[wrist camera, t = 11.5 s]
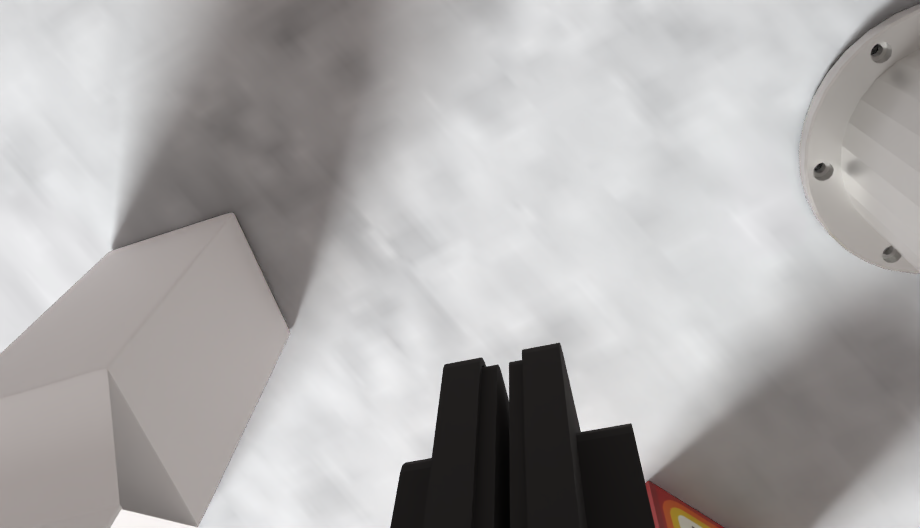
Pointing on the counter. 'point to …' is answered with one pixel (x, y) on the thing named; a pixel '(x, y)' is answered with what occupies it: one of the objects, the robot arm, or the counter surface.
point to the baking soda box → (674, 511)
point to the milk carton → (138, 384)
